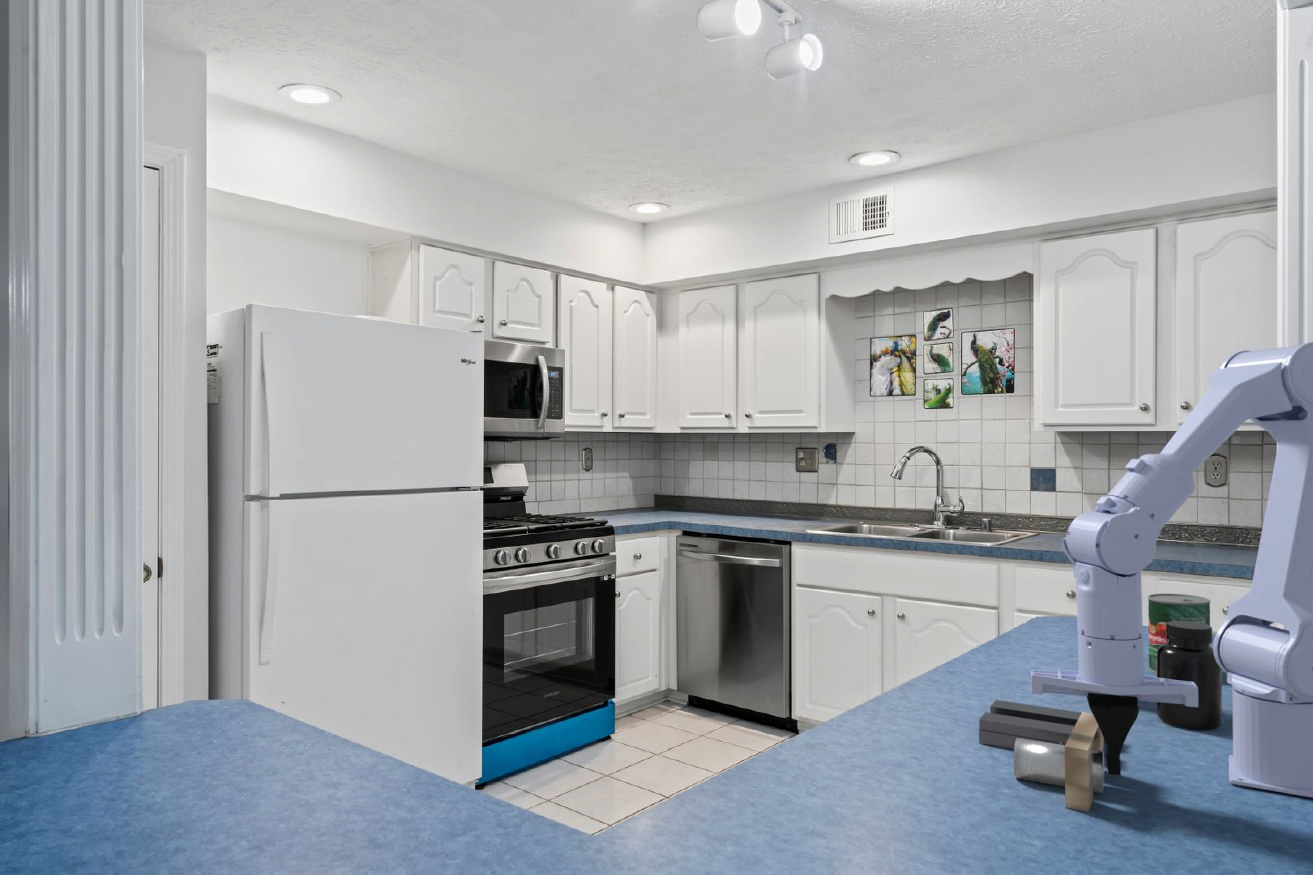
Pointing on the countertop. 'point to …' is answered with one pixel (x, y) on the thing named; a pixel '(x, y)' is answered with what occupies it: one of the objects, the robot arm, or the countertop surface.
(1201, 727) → the supplement bottle
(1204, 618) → the canned tomato
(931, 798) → the countertop surface
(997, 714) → the v block
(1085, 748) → the beam
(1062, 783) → the silver metal cylinder
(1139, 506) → the robot arm
